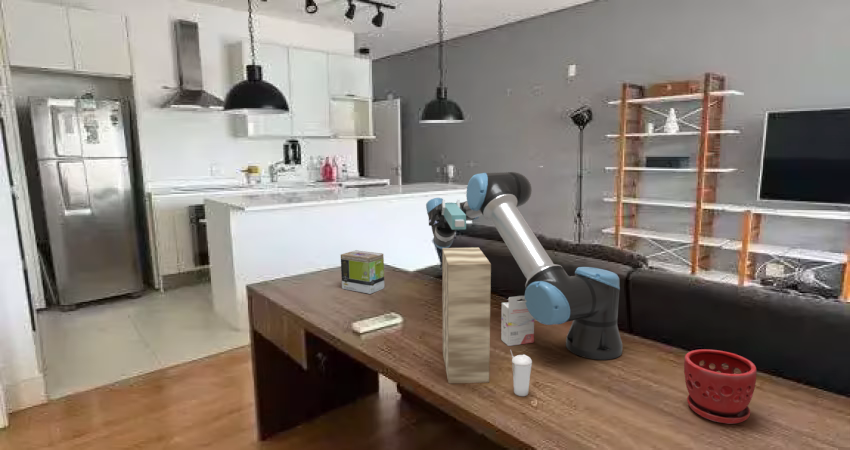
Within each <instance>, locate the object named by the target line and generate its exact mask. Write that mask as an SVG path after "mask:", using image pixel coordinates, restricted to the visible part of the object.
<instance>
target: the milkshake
mask: <svg viewBox="0 0 850 450" xmlns="http://www.w3.org/2000/svg"><path fill="white" fill-rule="evenodd" d="M509 352H510V354H511V358H512V359H511V363H512V364H511V365H512V377H513V379H512V380H513V381H512V382H513V393H514V394H515V395H516V396H518V397H525V396H528V394H529V389H530V388H529V387H530V381H531V380H530V378H531V371H532V365H533V360H532V359H531V357H530V356H528V355H526V354H518V355H515V356H514V353H513V352H512V349H510V350H509Z"/></svg>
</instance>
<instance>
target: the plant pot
mask: <svg viewBox="0 0 850 450" xmlns="http://www.w3.org/2000/svg"><path fill="white" fill-rule="evenodd" d="M702 361H703V365H702V364H701V362H702ZM683 363H684V364H683V366H684V367H683V370H684V371H683V373H684V381H685V385H686V389H687V392H688V395H687V398H686V400H687V401H686V402H687V405H688V406H689V408H690V409H691V410H692V411H693V412H695V413H696V414H697V415H699V416H700V417H702V418H704V419H706V420H708V421H709V420H710V421H711V422H715V423H716V422H717V423H721V424H729V425H730V424H739V423H742V422H744V421H746V420H748V419H749V417H750V415H751V409H750V407H749V404H750V403H751V401H752V398H753V396H754V392H755V388H756V382H757V367H756V365H755V363H753V362H752V361H751V360H750V359H748V358H746V357H744V356H741V355H738V354H737V353H733V352H729V351H725V350H724V351H723V350H717V349H709V348H708V349H705V348H704V349H702V348H701V349H695V350H691V351H688V352H687V353H686V354H685V355H684V362H683ZM723 364H724V365H727V367H728V368H724V367H723ZM710 365H714V368H710ZM735 369H738V370H739V371H740V373H734V372H735Z"/></svg>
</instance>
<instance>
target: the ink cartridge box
mask: <svg viewBox="0 0 850 450" xmlns="http://www.w3.org/2000/svg"><path fill="white" fill-rule="evenodd" d="M507 300H508V302H501V314H500V316H501V321H500V322H501V325H500V326H501V327H500V329H501V330H500V331H501V333H500V335H501V341H502V342H503V343H504V344H505V345H506V346H508V347H511V346H518V345H526V344H533V343H535V319H534V318H533V317H532V315H531V314H530V313H529V311H528V309H527V307H526V302H527V301H526V300H525V295H517V296H509V297H508V298H507Z"/></svg>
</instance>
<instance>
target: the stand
mask: <svg viewBox="0 0 850 450" xmlns="http://www.w3.org/2000/svg"><path fill="white" fill-rule="evenodd" d="M441 250H442V252H441V254H442V256H441V258H442V260H441V261H442V264H441V266H442V272H441V273H442V274H441V275H442V278H441V279H442V283H441V285H442V287H441V288H442V295H441V297H442V299H441V300H442V357H443V361H444V366H445V372H446V377H447V382H448V384H473V383H474V384H475V383H476V384H477V383H478V384H479V383H481V384H482V383H490V351H491V350H490V348H491V347H490V345H491V343H490V342H491V341H490V339H491V337H490V336H491V291H492V288H491V287H492V286H491V283H492V282H491V279H492V278H491V277H492V274H491V273H492V264H491V262H490V261H489V259H488V258H487V257H486V255H485V254H484V252H483V251H482V250H481V249H480V247H449V248H442V249H441Z"/></svg>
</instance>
